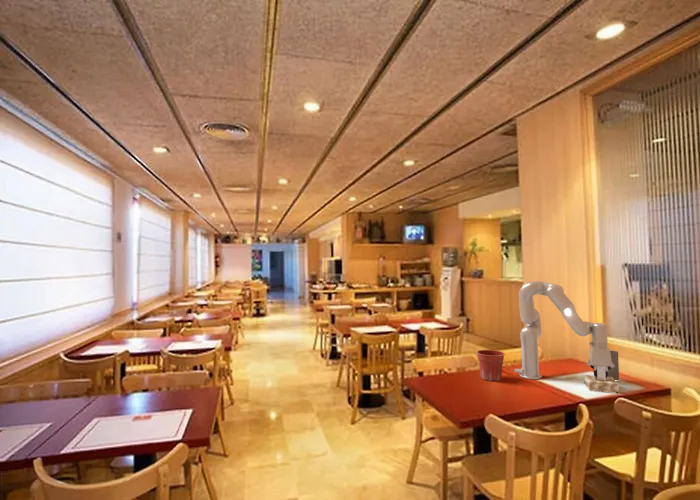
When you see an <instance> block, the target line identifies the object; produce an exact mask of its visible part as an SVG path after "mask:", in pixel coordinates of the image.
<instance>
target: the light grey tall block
mask: <svg viewBox="0 0 700 500" xmlns="http://www.w3.org/2000/svg"><path fill="white" fill-rule="evenodd" d="M596 369H597V378H596V380H597V381H606V372H605V366H597V368H596Z"/></svg>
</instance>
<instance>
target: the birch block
mask: <svg viewBox="0 0 700 500" xmlns="http://www.w3.org/2000/svg"><path fill="white" fill-rule="evenodd" d="M584 384H586V385H585V386H586V388H587V387H588V388H587V389H588V391H589V390H590V391H589V392H598V391H599V392H600V391H601V392H600V393H609V392H618V393H617V394H620V384H619V383H618V381H615V380H614V379H613V378H612V377H607V379H606V381H597V380H596V377H595V376H594V375H592V374H591V375H588V374H584ZM599 392H598V393H599Z"/></svg>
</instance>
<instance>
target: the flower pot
mask: <svg viewBox="0 0 700 500" xmlns="http://www.w3.org/2000/svg"><path fill="white" fill-rule="evenodd" d="M476 354H477V359H478V362H479V363H478V364H479V373H480V378H481V379H482V380H484V381H488V382H493V381H495V382H499V381H501V380H502V376H503V364H504V359H505V358H504V357H505V355H506V353H505V352H503V351H499V350H495V349H480V350H477V351H476Z"/></svg>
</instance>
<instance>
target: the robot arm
mask: <svg viewBox="0 0 700 500" xmlns="http://www.w3.org/2000/svg"><path fill="white" fill-rule="evenodd" d="M536 295H540V296H545V297H548V299H549V300H550V301H551V302H552V304H553V305H554V306H555V308H557V310H558V311H559V312H560V313H561V315H562V317H563V319H564V320H565V321H566V323H567V325H568V326H569V327H570V328H571V329H572V330H573V332H574V334H577V336H579V337H586V336H589V335H591V342H589V344H588V345H589V346H590V349H589V350H590V351H589V359H588V360H587V362H586V366H588V367H590V368H591V369H592V370H593V376H595V377H596V378H597V369H596V368H597V366H605V372H606V379H607V377H608V370H610V369H611V368H613V367H615V365H614V364H613V363H612V361H611V354H610V350H611V349H610V347H609V346H608V345H609V343H608V326H607V324H606V323H603V322H591V321H583V320H582V318H581V317H580V316H579V314H578V313H577V311H576V308H575V304H574V303H573V302H572V301H571V300H570V299H569V297H568V296H567V294H566V293H565V290H564V288H563V286H562V285H560V284H556V283H550V282H545V281H540V280H539V281H538V280H535V281H529V282H526V283H525V284H524V285H522V286H521V287H520V289H519V291H518V303H519V305H518V307H519V316H520V320H521V322H522V323H523V324H524V325H525V326H523V328H521V330H520V332H519V336H520V343H521V344H520V345H521V367H520V368H514V373H517V374H518V373H519V376H520V377H521V378H523V379H527V380H540V379H542V377H543V376H542V374H540V372H539V371H540V370H539V366H540V364H539V347H538V346H539V344H538V339H539V338H540V337H541V335H542V326H541V324H542V323H541V316H540V312H539V311H538V310H537V309H536V308H535V303H534V296H536ZM607 366H608V367H607Z"/></svg>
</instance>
